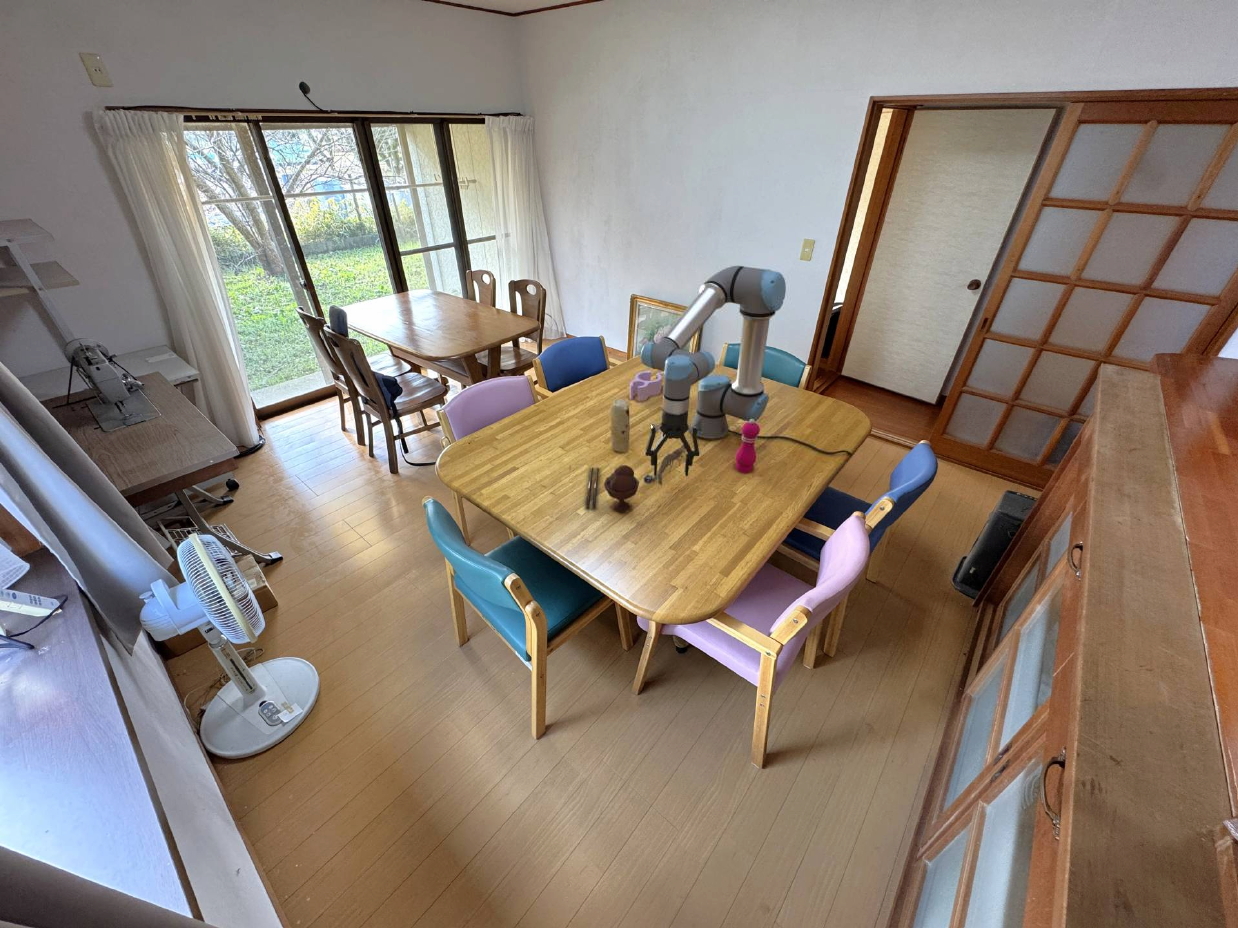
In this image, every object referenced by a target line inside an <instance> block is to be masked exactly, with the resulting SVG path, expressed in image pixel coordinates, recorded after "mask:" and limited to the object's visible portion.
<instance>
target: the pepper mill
mask: <svg viewBox="0 0 1238 928" xmlns="http://www.w3.org/2000/svg"><path fill="white" fill-rule="evenodd" d="M760 432H761V429H760V426H759V424H758V423H756V421H755V420H754V419H751V420H750V421H746V422H744V424H743V425H742V427H741V434H743V435H742V436H741V440H742V442H741V445H740V447H739V448H738V450H737V451H736V454H735V466H734V467H735V469H736V470H737V471H738V472H739V473H742V474H743V473H746V474H748V473H751V472H753V470H754V464H755V463H756V462H757V453H756V450H755V449H756V448H755V444H756V443H755V442H757V439H758V438H757V436H759V434H760Z"/></svg>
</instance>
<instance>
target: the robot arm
mask: <svg viewBox="0 0 1238 928" xmlns="http://www.w3.org/2000/svg"><path fill="white" fill-rule="evenodd" d="M786 291H787V285H786V279H785V277H784V275H783V274H782V273H781V272H779V271H775V270H771V269H766V268H757V267H749V266H743V265H732V266H729V267H726V268H723V269H721V270H720V271H718V272H716V273H715V274H713V275H712V276H710V277H709V278H708V279H706V281H704V283H703V284H702V285H701V286H700V288H699V290H698V295H696V297H695V298H694V299H693V300H692V302H691V303H690V304H689V305H688V306H687V307H686V309H684V311H683V312H682V313H681V314H680V316H679V317H678V318H677V319H676V320H675V321H674V322H673V324H671V326H670V327H669V328H668V330H666V332H665V333H664V334H663V336H662V337H660V339H659V340H658V341H657V342H655V341H649V342H646V343H645V344H644V345H643V346H642V348H641V350H640V360H641V363H642V364H643V365H644V366H645V367H648V368H649V369H652V370H657V371H660V372H663V392H662V393H663V395H662V410H661V423H660V424H658V425H656V424H650V434H649V438H648V440H647V443H646V447H645V450H644V452H645V456H646V457H650V465H651V466H652V467H653V477H654V476H655V475H656V474H657V473H658V458H659V457H658V454H659V452H660V451H661V449H662V447H663V446H664V444H665V443H666V442H667V441H668V440H672V439H674V440H679V441H681V443H682V446H683V445H684V447H685V450H686V451H685V452H686V453H685V462H684V475H685V477H689V471H690V470H689V469H690V467H692V466H693V463H694V459H695V457H699V456H700V455H701V454H700V448H699V443H698V439H702V440H707V441H709V440H710V441H716V440H721V439H723V438H725V437H726V436H727V435H728V434H729V433H731V434H735V435H736V436H740V437H742V435H743V433H739V432H737V431H734V430H730V429H729V424H728V420H727V416H726V415H728V416H730V417H733V418H736V419H739V420H742V421H745V422H749V421H750V420H751V419H754V420H755V422H758V420H759V419H761V417H762V415H763V414H764V412H765V410H766V408H767V405H768V403H769V399H770V397H769V394H768V393H767V392H764V391H765V385H764V383H763V382H762V376H763V369H764V361H765V355H766V347H767V342H768V341H767V340H768V335H769V326H770V322H771V321H770V320H771V318H773V317H774V316H775V315H776V312H778V311H779V310H781V308H782V306H783V304H784V300H785V299H786ZM730 303H731V304H735V305H739V312H738V313H739V314H740V315H741V316H742V328H741V335H740V337H741V338H740V343H739V344H740V345H739V352H738V363H737V371H736V379H735V380H734V381H733V382H732V383H731V381H732V380H731V378H730V377H729V376H728V375H725V374H711V373H713V371H714V370H715V367H716V361H715V357H714V356H713V354H712V353H710V352H709V351H707V350H699V351H695V352H691V351H689V350H687V351H686V350H684V349H685V348H686V347H687V345H689V343H690V342H691V340H692V339H693V338H694V337H695V336H696V334H698V332H699V331H700V330H701V329H702V327H703V326H704V325H705V324H706V322H708V320H709V319H710V318H711V317H712V315H713V314H715V312H716V311H717V310H719V309H722V308H723V307H724V306H725V305H726V304H730ZM696 383H698V388H697V401H696V412H695V414H694V417H693V418H692V420H691V422H690V425H689V424H688V420H689V410H690V409H689V408H690V396H691V389H692V387H691V386H694V385H695V384H696ZM659 431H660V432H662V433H661V435H660V437H659V438H658V440H657V442H656V443H655V445H654V442H655V439H656V434H658V433H659ZM688 431H689V433H690V434H691V437H692V442H693V443H692V444H693V449H694V450H692V447H691V445H690V443H689V441H688V440H687V438H686V435H685V434H686V433H687V432H688ZM757 439H784V440H789V441H793V442H795V443H798V444H800V445H804V446H806V447H808V448H811V449H813V450H815V451H818V452H819V453H823V454H827V455H836V454H841V453H846V454H848V456H852V453H851V452H850V451H848V450H846V449H843V450H837V451H826V450H822V449H820V448H817V447H816V446H814V445H813V444H812V445H811V444H809V443H807V442H804V441H801V440H799V439H796V438H792V437H789V436H782V435H770V436H769V435H767V436H766V435H764V436H763V435H757ZM653 445H654V446H653Z"/></svg>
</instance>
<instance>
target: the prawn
mask: <svg viewBox="0 0 1238 928" xmlns="http://www.w3.org/2000/svg"><path fill="white" fill-rule="evenodd" d="M686 452H687V451H686V449H685V447H684V445H683V444H682V445H681V446H680V447H679V448H677V449H675V450H673V451H672V452H671V453H668V452H667V453H666V455H665V456H664V458H663V459H662V461H661V463H660V466H659V469H658V471H657V474H656V475H655V476H654V475H650V474H646V475H645V476H644V477H643V483H644V484H647V485H650V484H652V483H655V482H656V481H657V480H658V482H657V483H658V485H659V486H660V487H662V485H663V473H664V472H665V471H666V469H667V468H668V467H669V469H672V467H673V465H674V462H675V461H676V462H679V464H678V467H680V465H681V463H680V462H681V461H683V462H685V459H683V457H684V456H683V455H684V454H686ZM683 453H684V454H683ZM670 473H671V470H669V472H668V474H670Z"/></svg>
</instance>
